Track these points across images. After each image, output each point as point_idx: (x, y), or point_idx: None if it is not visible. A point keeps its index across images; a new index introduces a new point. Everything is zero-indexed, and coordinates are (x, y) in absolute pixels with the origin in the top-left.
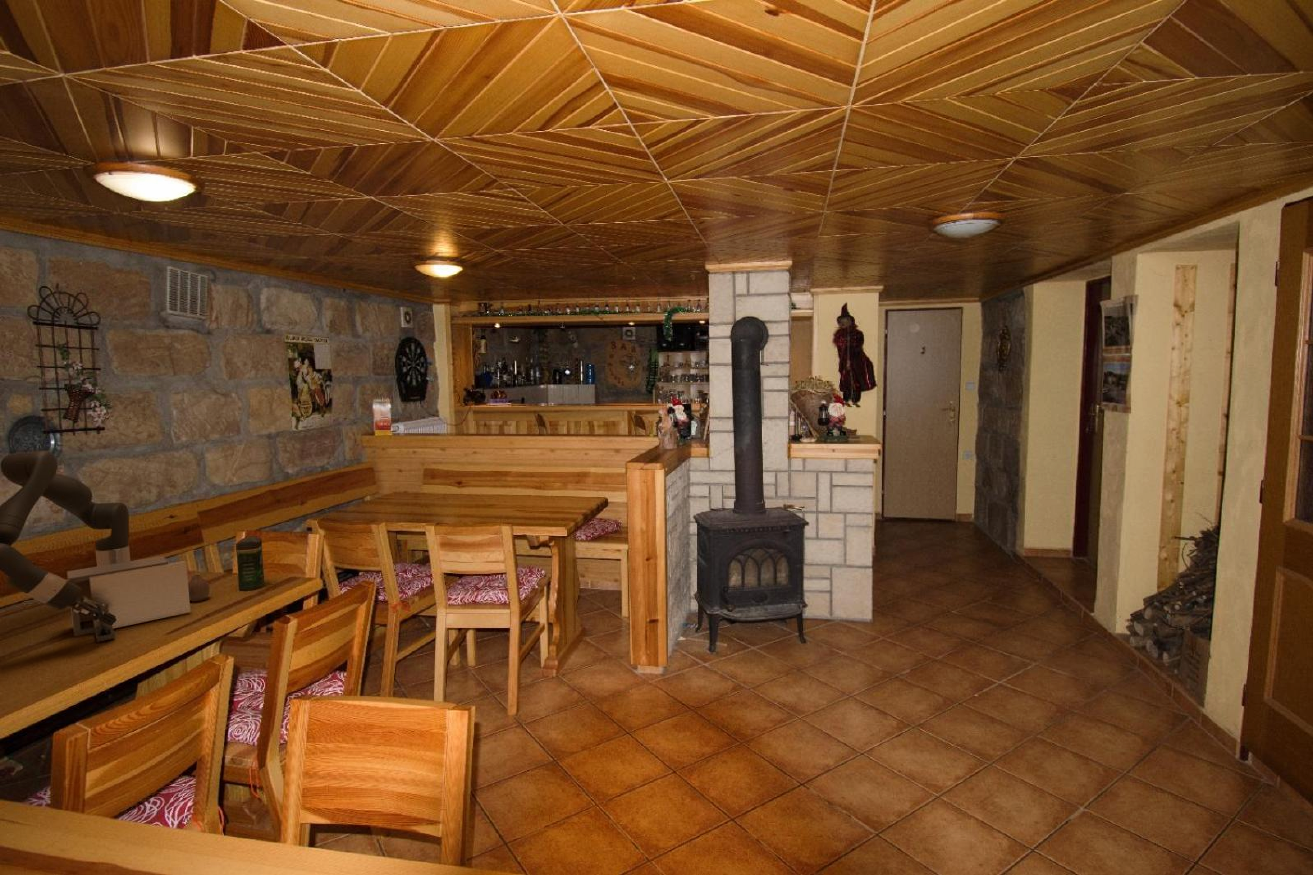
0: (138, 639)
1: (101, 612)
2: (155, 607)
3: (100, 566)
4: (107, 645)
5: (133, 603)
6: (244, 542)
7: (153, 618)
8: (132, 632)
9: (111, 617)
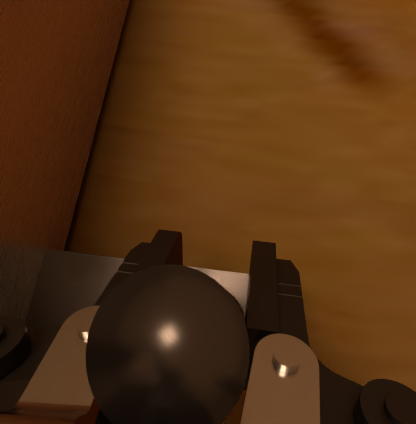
0: (349, 192)
1: (413, 415)
2: (78, 23)
3: None
4: (325, 332)
5: (4, 73)
6: None
7: (102, 82)
8: (195, 190)
9: (273, 274)
